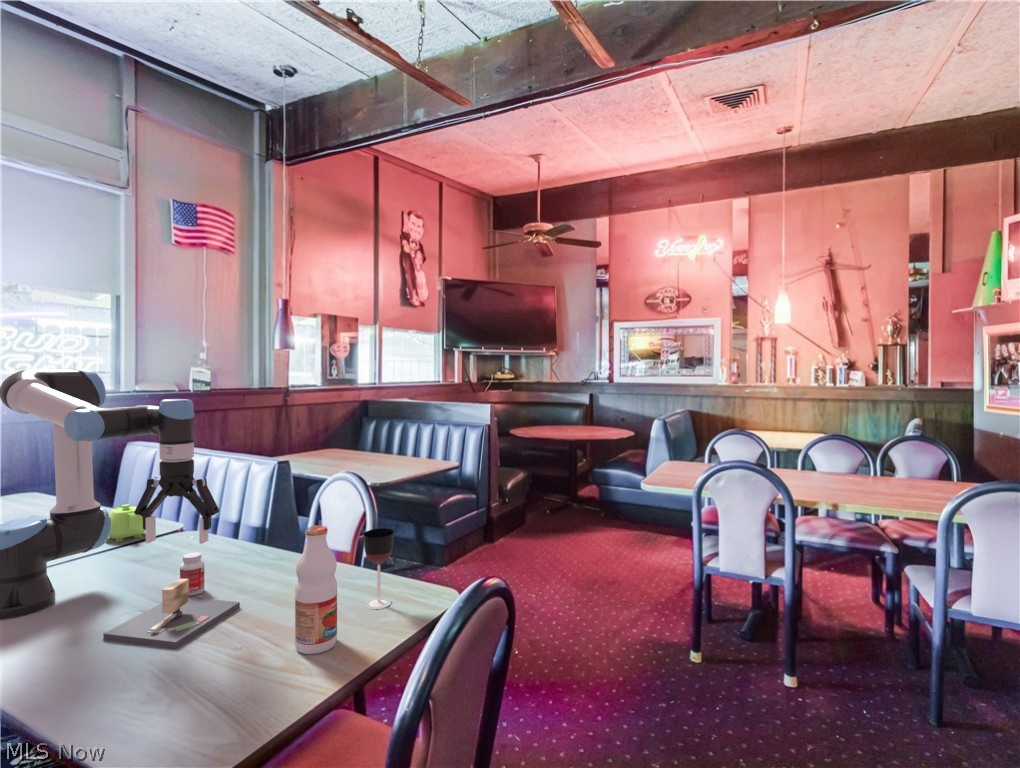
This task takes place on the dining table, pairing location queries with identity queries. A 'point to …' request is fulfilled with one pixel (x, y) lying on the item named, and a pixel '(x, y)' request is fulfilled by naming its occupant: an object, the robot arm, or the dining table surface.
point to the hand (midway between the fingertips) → (177, 542)
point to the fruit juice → (316, 595)
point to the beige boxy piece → (173, 601)
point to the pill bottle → (193, 572)
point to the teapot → (125, 523)
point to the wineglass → (378, 553)
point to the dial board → (172, 623)
